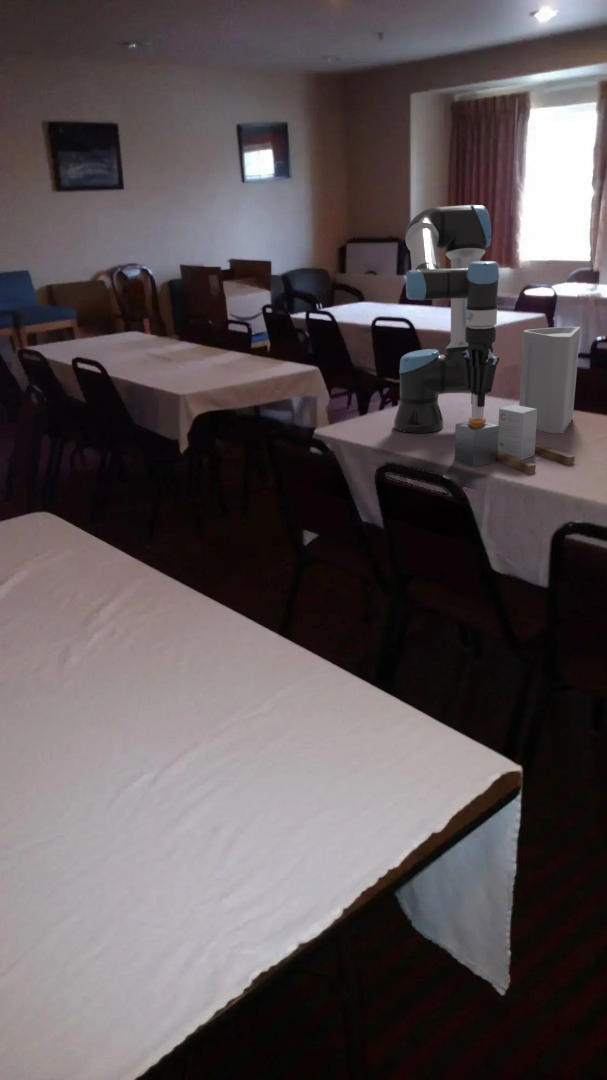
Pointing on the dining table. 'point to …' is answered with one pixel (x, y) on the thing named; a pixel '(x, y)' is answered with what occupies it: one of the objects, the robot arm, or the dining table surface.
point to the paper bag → (550, 375)
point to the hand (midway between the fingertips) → (477, 418)
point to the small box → (517, 431)
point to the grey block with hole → (476, 444)
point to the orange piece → (477, 422)
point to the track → (539, 450)
